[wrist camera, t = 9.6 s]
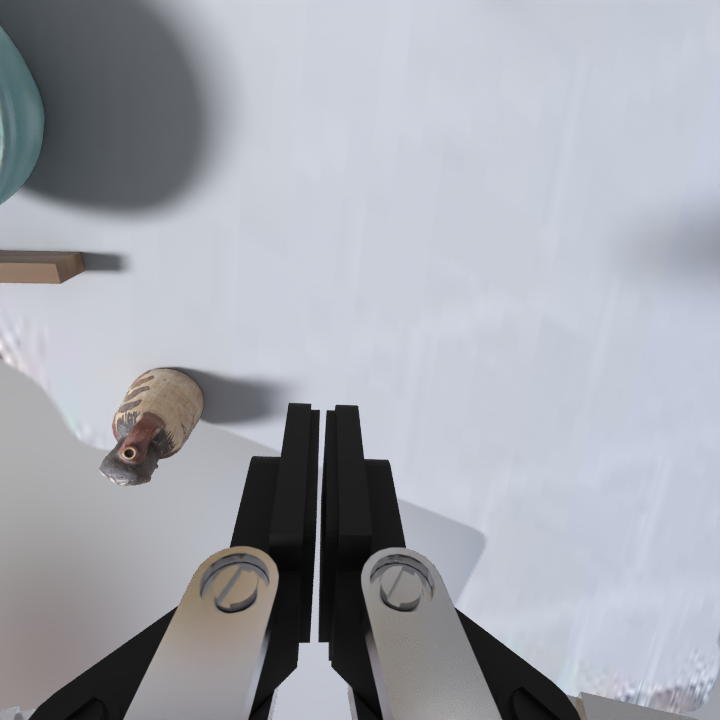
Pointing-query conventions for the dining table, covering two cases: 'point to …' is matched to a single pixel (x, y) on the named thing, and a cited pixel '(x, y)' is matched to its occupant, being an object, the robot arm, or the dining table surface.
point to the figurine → (152, 424)
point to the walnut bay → (39, 266)
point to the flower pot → (17, 119)
